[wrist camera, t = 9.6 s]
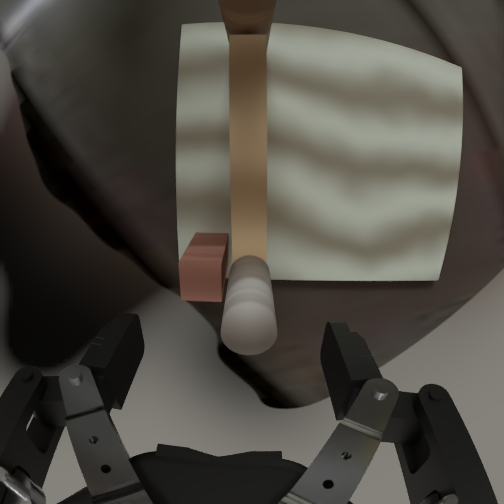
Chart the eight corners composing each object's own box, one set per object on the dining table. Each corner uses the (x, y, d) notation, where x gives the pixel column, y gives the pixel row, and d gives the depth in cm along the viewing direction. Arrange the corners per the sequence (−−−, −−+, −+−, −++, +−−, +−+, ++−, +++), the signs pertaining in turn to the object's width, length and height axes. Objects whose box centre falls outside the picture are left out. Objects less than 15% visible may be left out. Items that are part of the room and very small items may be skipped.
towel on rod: (184, 28, 21) (118, -66, 6) (456, 68, 21) (567, 53, 6) (182, 272, 30) (129, 389, 15) (433, 276, 30) (517, 360, 15)
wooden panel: (234, 70, 21) (212, -14, 7) (263, 70, 21) (278, -15, 7) (237, 261, 27) (224, 381, 13) (263, 261, 27) (274, 381, 13)
